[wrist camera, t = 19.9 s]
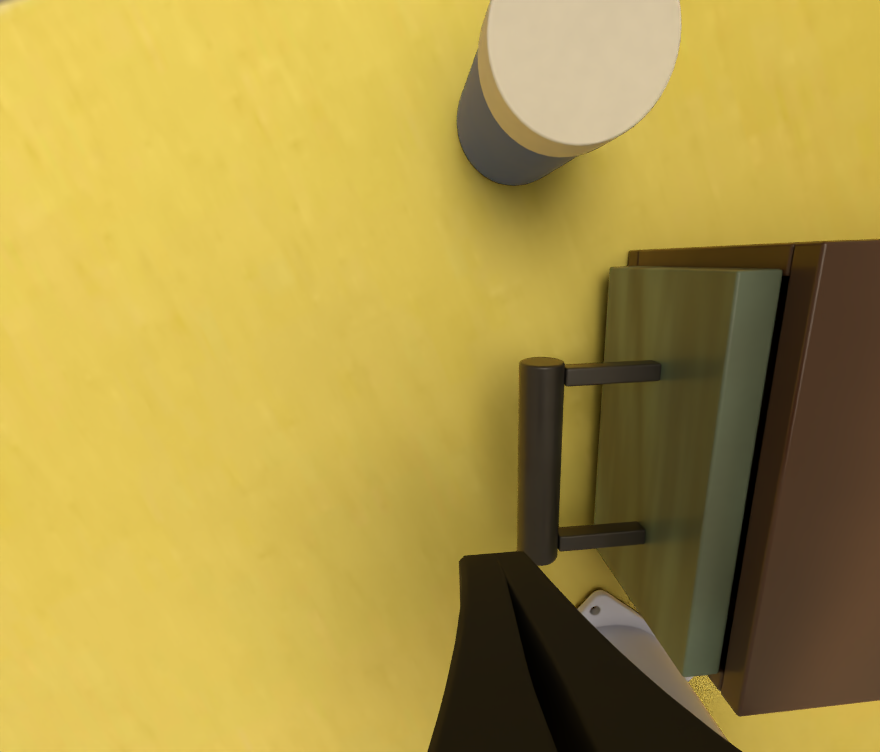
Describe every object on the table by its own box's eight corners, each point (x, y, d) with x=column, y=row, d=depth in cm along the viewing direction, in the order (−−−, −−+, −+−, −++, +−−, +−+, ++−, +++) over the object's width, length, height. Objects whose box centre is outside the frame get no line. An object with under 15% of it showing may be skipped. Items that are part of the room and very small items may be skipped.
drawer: (495, 551, 20) (541, 694, 13) (494, 271, 17) (554, 277, 10) (862, 520, 21) (1068, 636, 15) (926, 254, 18) (1227, 250, 11)
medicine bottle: (521, 214, 17) (590, 187, 11) (428, 132, 16) (445, 49, 10) (600, 112, 16) (722, 20, 10) (508, 19, 15) (580, -145, 9)
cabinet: (607, 540, 21) (737, 718, 13) (628, 250, 18) (824, 241, 10) (884, 517, 22) (1168, 668, 14) (954, 238, 19) (1387, 220, 11)
